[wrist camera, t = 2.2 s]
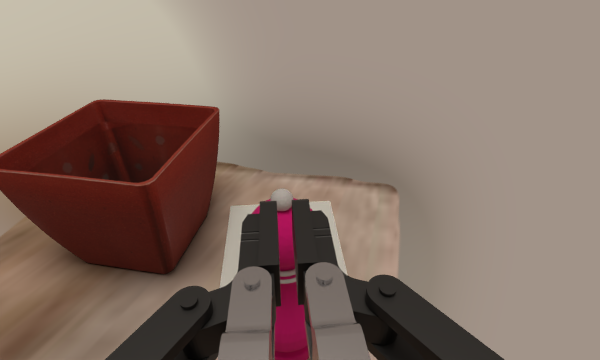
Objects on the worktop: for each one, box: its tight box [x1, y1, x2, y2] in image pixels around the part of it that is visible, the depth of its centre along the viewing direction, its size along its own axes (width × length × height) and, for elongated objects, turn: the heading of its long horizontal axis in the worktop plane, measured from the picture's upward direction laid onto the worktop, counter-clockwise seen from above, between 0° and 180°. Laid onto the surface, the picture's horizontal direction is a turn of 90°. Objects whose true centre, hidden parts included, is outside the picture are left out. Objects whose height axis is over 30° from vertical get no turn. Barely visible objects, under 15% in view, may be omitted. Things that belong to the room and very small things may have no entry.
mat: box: [220, 201, 348, 288], centre depth 49 cm, size 18×16×1 cm
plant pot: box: [0, 100, 219, 274], centre depth 47 cm, size 19×19×17 cm
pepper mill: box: [252, 189, 313, 360], centre depth 32 cm, size 7×7×20 cm
